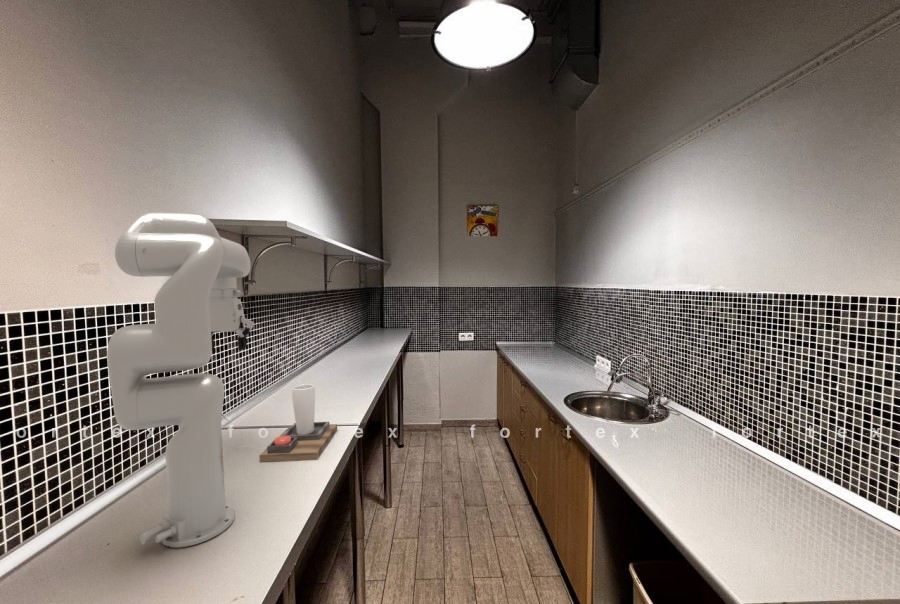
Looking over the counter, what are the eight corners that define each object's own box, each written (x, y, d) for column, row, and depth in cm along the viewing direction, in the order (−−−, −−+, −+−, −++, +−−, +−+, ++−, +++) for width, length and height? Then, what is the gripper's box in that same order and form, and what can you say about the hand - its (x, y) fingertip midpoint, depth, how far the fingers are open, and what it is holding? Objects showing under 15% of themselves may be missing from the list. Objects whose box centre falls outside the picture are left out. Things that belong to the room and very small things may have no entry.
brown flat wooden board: (317, 459, 107) (316, 445, 106) (259, 462, 106) (258, 448, 106) (337, 430, 128) (336, 418, 128) (289, 432, 128) (289, 420, 128)
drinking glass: (300, 438, 116) (297, 390, 116) (290, 433, 121) (288, 387, 120) (320, 432, 121) (318, 386, 121) (310, 427, 126) (308, 382, 125)
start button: (287, 449, 108) (287, 441, 108) (272, 450, 108) (271, 441, 108) (293, 442, 112) (293, 435, 112) (278, 443, 112) (278, 435, 112)
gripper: (257, 293, 120) (260, 347, 121) (202, 295, 119) (205, 349, 120) (245, 294, 112) (248, 351, 113) (186, 296, 112) (189, 353, 112)
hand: (226, 350), depth 116 cm, fingers open, 9 cm apart
